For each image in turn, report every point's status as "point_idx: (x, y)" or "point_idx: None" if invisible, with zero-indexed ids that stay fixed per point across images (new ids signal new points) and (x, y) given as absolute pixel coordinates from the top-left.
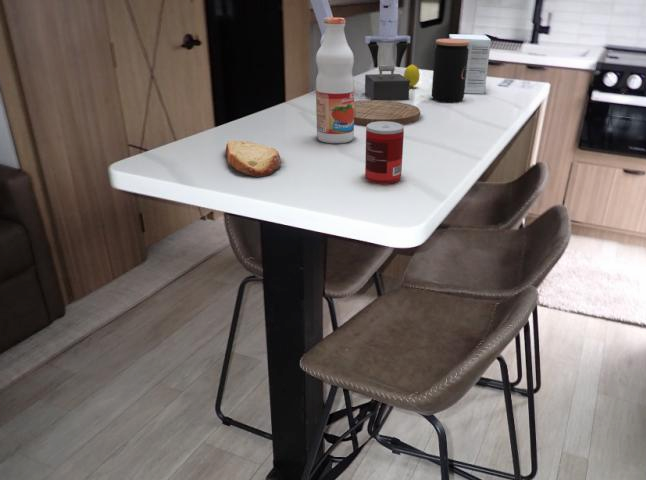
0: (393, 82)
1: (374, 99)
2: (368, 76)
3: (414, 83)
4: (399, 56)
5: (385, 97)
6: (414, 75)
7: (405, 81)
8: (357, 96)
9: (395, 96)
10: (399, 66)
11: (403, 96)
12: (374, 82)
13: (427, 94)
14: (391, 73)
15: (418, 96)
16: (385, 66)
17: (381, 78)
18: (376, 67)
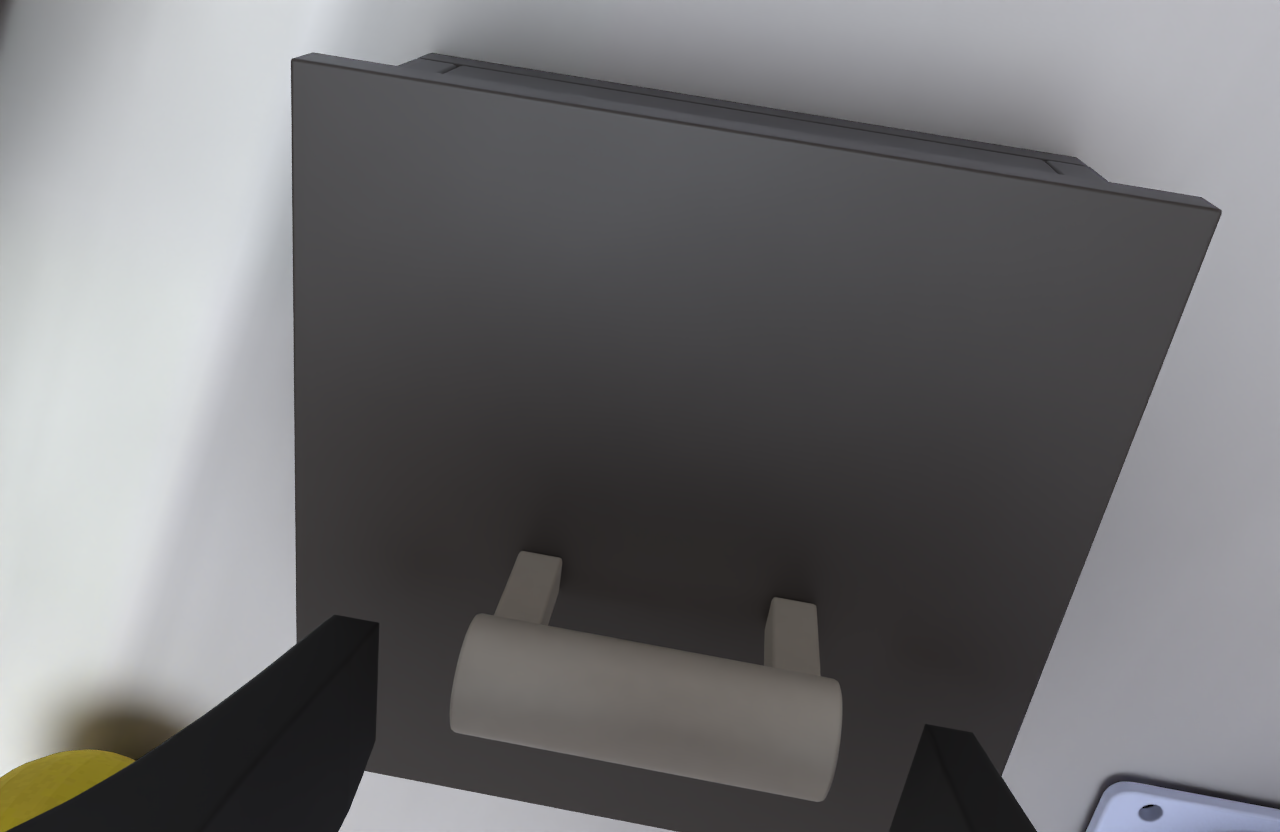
0: (718, 121)
1: (1063, 157)
2: (1008, 725)
3: (76, 751)
4: (245, 784)
5: (856, 132)
6: (12, 827)
7: (417, 71)
8: (1131, 540)
9: (664, 102)
10: (337, 621)
11: (511, 75)
12: (1203, 205)
13: (9, 347)
14: (549, 607)
15: (183, 258)
16: (686, 728)
17: (855, 472)
18: (946, 731)
